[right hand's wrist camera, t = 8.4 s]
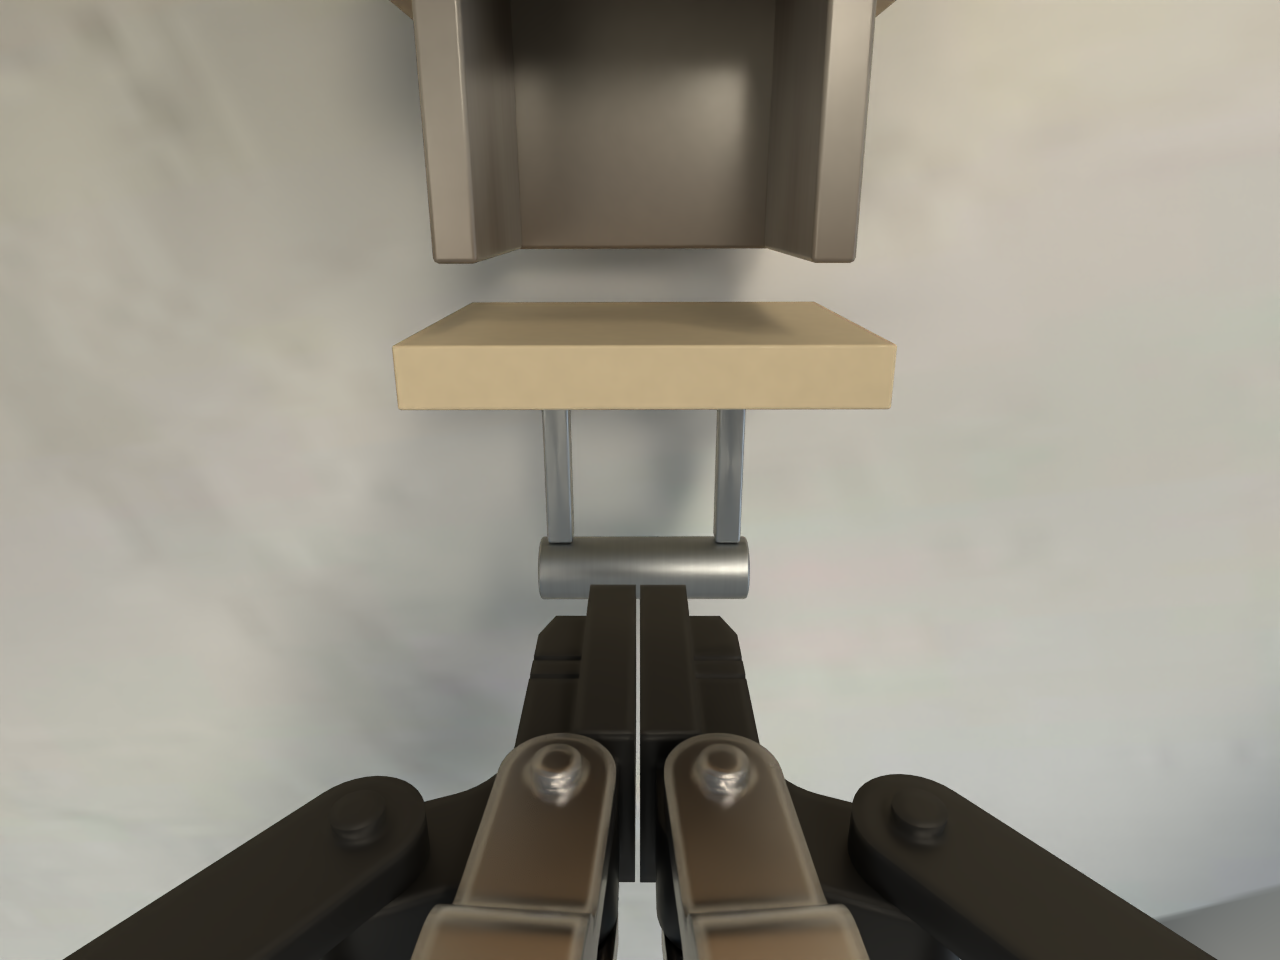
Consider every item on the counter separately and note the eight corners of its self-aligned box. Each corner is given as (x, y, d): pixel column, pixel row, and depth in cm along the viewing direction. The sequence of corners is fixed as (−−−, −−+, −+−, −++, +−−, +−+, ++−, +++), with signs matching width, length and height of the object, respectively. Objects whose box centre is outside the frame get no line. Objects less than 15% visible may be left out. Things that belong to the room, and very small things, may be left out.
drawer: (799, 537, 23) (864, 672, 16) (487, 538, 23) (424, 672, 16) (879, -644, 15) (1069, -1320, 8) (405, -643, 15) (219, -1316, 9)
